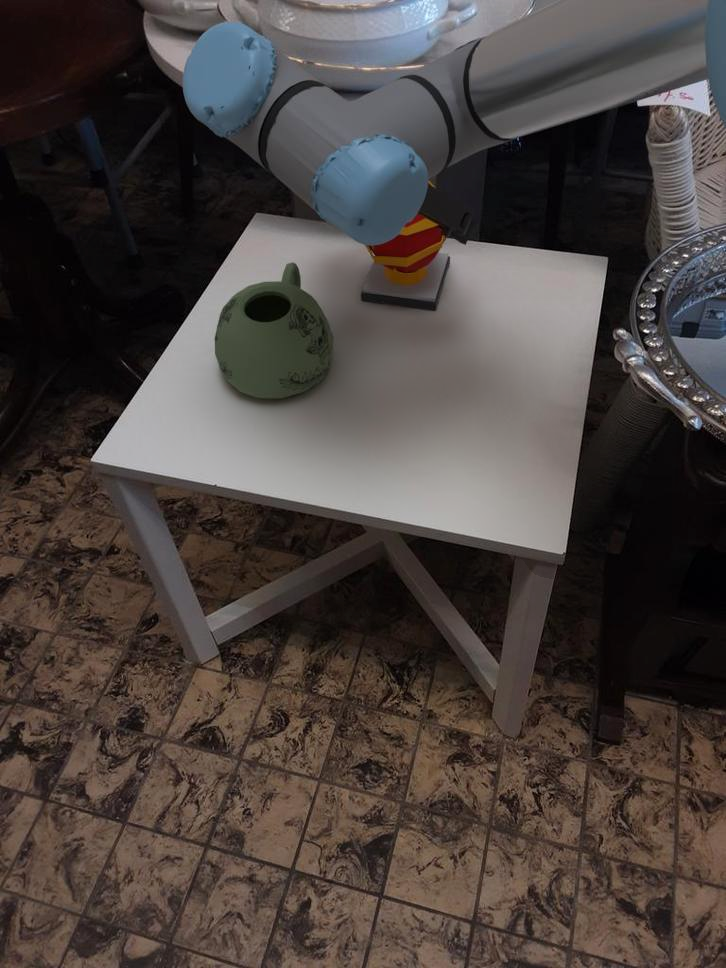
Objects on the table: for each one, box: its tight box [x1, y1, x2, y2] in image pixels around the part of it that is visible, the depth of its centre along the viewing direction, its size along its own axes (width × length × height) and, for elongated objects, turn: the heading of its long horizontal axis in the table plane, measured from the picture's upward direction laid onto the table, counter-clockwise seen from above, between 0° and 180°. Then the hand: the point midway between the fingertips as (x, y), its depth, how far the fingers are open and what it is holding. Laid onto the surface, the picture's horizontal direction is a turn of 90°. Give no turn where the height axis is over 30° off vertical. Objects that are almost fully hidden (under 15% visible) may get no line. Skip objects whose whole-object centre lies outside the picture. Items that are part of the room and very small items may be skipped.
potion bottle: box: [364, 180, 448, 286], centre depth 86 cm, size 10×10×15 cm
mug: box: [214, 261, 334, 399], centre depth 83 cm, size 16×13×9 cm
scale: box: [360, 252, 451, 312], centre depth 93 cm, size 9×9×2 cm
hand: (419, 212), depth 88 cm, fingers open, 13 cm apart
